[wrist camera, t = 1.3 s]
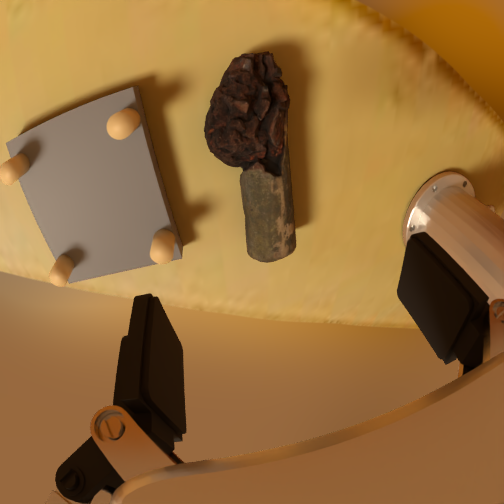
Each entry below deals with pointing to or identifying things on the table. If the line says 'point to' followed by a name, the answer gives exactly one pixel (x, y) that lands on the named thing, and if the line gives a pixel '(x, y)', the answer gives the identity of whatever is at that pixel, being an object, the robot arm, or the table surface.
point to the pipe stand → (96, 189)
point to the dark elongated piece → (256, 150)
